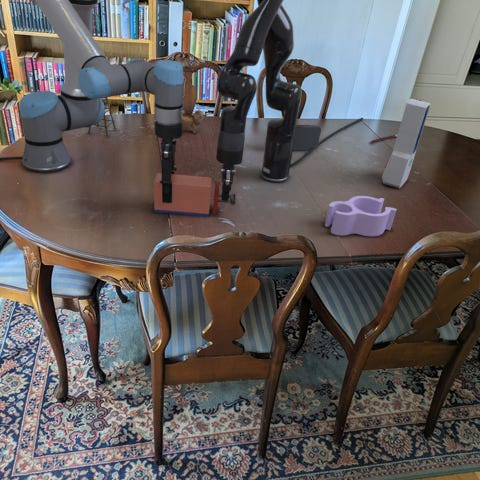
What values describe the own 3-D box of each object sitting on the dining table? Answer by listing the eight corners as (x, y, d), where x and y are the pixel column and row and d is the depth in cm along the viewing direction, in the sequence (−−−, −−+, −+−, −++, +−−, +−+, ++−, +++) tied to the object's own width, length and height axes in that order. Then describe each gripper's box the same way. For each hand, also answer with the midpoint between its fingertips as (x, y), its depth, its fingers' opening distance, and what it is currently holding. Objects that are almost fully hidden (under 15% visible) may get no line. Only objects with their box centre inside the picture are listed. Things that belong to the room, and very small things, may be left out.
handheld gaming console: (315, 147, 196) (319, 124, 190) (317, 149, 194) (322, 126, 188) (264, 149, 189) (267, 125, 183) (266, 152, 187) (269, 127, 181)
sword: (407, 132, 223) (408, 129, 223) (413, 134, 221) (413, 131, 221) (364, 143, 208) (365, 141, 207) (370, 146, 206) (370, 143, 205)
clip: (337, 240, 135) (342, 219, 131) (318, 218, 145) (322, 198, 141) (395, 233, 141) (402, 213, 137) (373, 213, 151) (378, 194, 147)
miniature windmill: (107, 136, 184) (102, 57, 168) (87, 133, 185) (80, 54, 169) (116, 129, 192) (112, 52, 176) (97, 126, 193) (91, 49, 177)
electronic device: (399, 190, 168) (424, 107, 152) (379, 183, 171) (402, 102, 155) (408, 178, 177) (433, 100, 161) (389, 173, 180) (411, 95, 164)
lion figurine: (200, 128, 202) (201, 108, 197) (204, 133, 198) (205, 112, 193) (167, 129, 197) (167, 108, 192) (170, 134, 193) (170, 113, 188)
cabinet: (209, 206, 145) (211, 177, 140) (208, 216, 140) (211, 187, 135) (156, 202, 144) (157, 172, 139) (154, 212, 139) (154, 182, 133)
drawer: (234, 206, 145) (236, 183, 141) (234, 214, 141) (237, 191, 136) (168, 201, 143) (168, 177, 139) (166, 209, 139) (166, 185, 135)
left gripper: (179, 135, 119) (178, 213, 132) (185, 111, 135) (183, 183, 148) (149, 132, 119) (151, 211, 131) (159, 109, 135) (159, 181, 147)
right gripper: (244, 155, 126) (237, 211, 135) (243, 138, 137) (236, 191, 146) (216, 152, 125) (211, 209, 134) (217, 135, 137) (213, 189, 146)
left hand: (168, 196), depth 140 cm, fingers closed on cabinet, 6 cm apart
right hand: (224, 199), depth 140 cm, fingers closed
